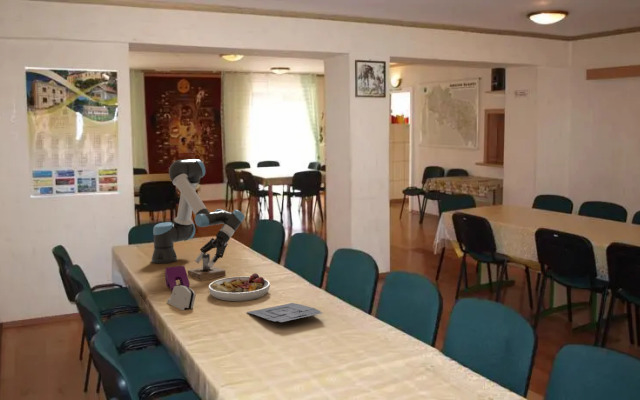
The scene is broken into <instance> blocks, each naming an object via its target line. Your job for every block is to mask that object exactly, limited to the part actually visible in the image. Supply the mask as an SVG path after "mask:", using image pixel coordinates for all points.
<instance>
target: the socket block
mask: <svg viewBox="0 0 640 400" xmlns="http://www.w3.org/2000/svg"><path fill="white" fill-rule="evenodd" d="M187 276H188V277H191V278H194V279H197V280H199V281H206V280H211V279H215V278H221V277H224V276H226V270H225V269H222V268H220V267H216V266H214V265H213V266H212V268H210V271H208V272H203V266H202V267H198V268H193V269H192V268H191V269H187Z"/></svg>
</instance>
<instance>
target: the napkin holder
mask: <svg viewBox="0 0 640 400" xmlns="http://www.w3.org/2000/svg"><path fill="white" fill-rule="evenodd" d="M195 301H196V292H195V291H194V290H193V289H192V288H191V287H190V286H189V287H186V286H181V285H177V286H175V287H174V288H173V291H172V290H171V295H170V297H168V299H167V301H166V304H169V305H171V306H172V307H175V308H176V309H179V310H181V311H185V309H194V306H195Z"/></svg>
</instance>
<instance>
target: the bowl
mask: <svg viewBox="0 0 640 400" xmlns="http://www.w3.org/2000/svg"><path fill="white" fill-rule="evenodd" d="M270 286H271V285H270V281H269V280H267V279H265V278H264V277H262V276H260V275H259V274H258V273H255V272H254V273H252V274H251V275H250V276H230V277H224V278H221V279H217V280H214V281H212V282H211V283H209V285H208V291H209V293H210V295H211V296H212V297H213V298H215V299H218V300H222V301H226V302H245V301H246V302H247V301H251V300H255V299H259V298H260V297H263V296H265V295H266V294H267V293H268V292H269V290H270Z"/></svg>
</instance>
